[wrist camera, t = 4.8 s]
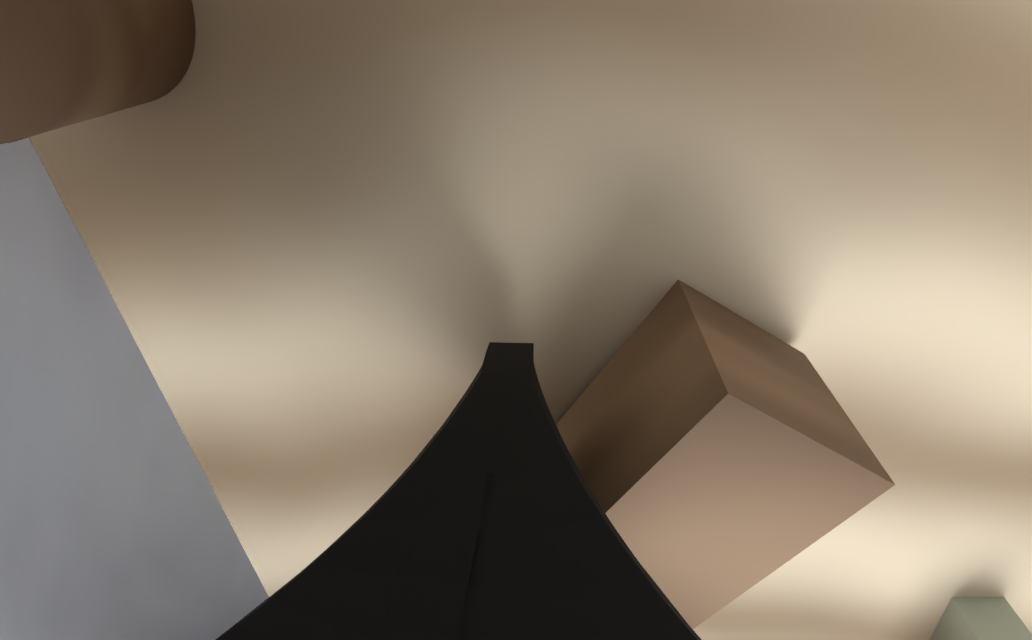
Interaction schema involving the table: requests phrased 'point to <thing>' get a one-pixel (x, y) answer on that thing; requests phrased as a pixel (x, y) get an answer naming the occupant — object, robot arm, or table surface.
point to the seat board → (566, 244)
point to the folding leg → (716, 451)
